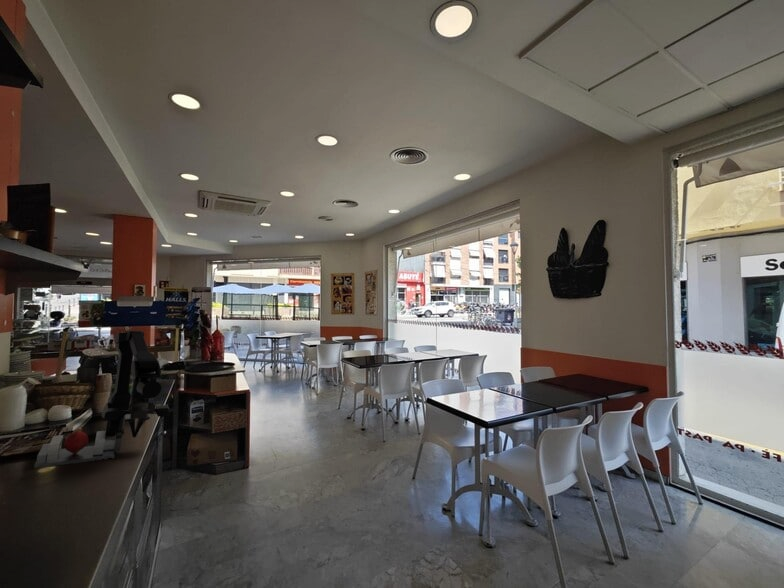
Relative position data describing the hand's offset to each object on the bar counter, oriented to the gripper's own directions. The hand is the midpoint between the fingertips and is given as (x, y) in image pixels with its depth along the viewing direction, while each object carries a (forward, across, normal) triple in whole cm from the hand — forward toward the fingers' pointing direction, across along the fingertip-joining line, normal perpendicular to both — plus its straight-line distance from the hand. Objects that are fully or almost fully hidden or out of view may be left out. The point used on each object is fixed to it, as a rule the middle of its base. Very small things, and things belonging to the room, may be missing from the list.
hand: (134, 437), depth 125 cm
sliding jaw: (+3, -7, 0) cm, 8 cm away
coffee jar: (+5, -4, +48) cm, 48 cm away
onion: (+4, -16, 0) cm, 16 cm away
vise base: (+4, -14, 0) cm, 15 cm away
